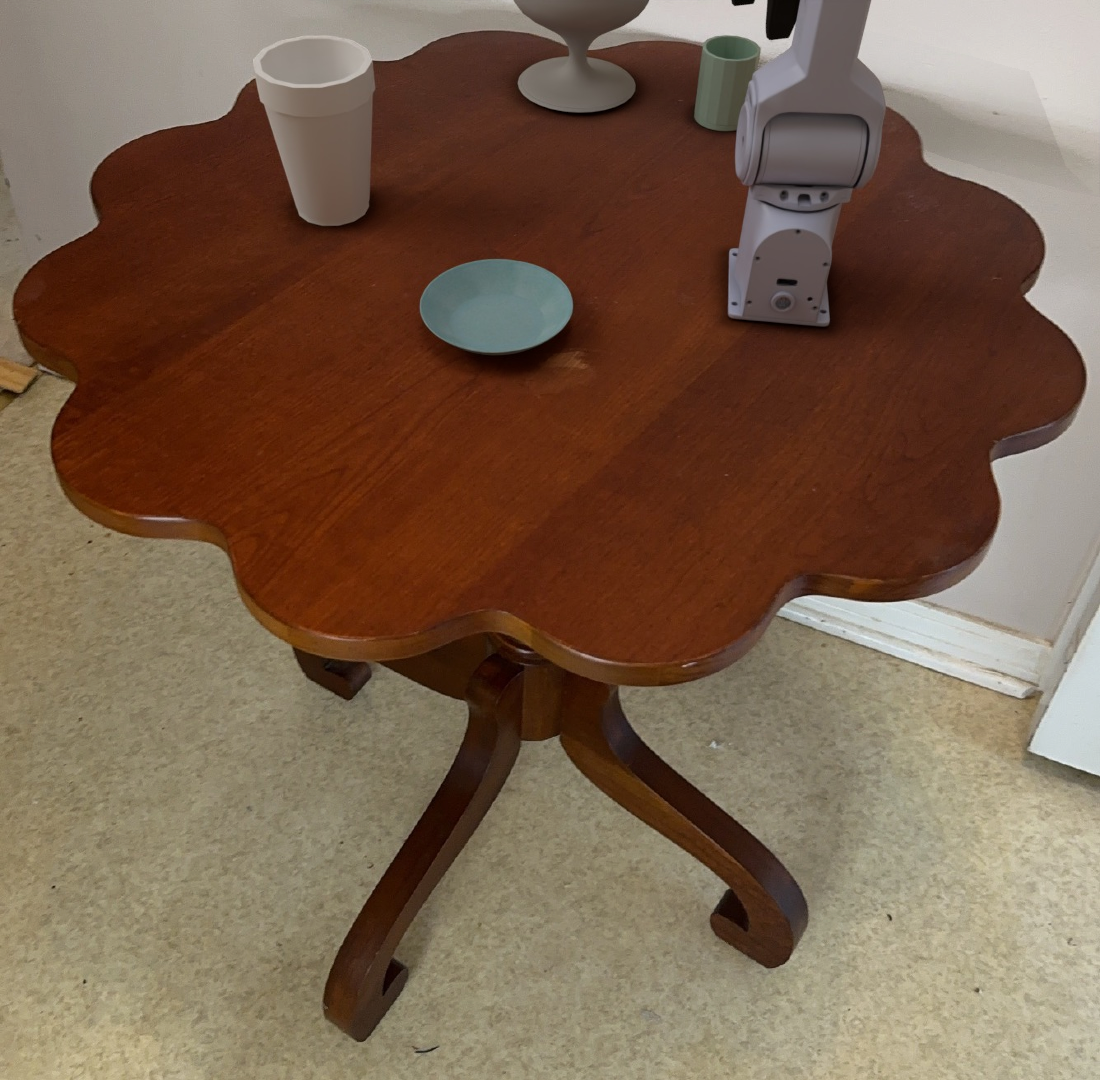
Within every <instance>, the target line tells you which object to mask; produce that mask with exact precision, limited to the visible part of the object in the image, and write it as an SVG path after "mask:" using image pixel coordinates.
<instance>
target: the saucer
mask: <svg viewBox="0 0 1100 1080" xmlns="http://www.w3.org/2000/svg"><path fill="white" fill-rule="evenodd" d="M573 310H574V301H573V295H572V293H571V291H570V289H569V287H568V286H567V285H566V283H564V281H563V280H562V279H561V278H560V277H559V276H557V275H555V274H554V273H553V272H551V271H549V270H547V269H546V268H544V267H541V266H539V265H536V264H533V263H529V262H526V261H520V260H514V259H507V258H491V259H487V258H486V259H479V260H474V261H470V262H465V263H462V264H459V265H456V266H454V267H452V268H450V269H448V270H445V271H444V272H442V273H440V274H439V275H438V276H436V277H435V278H434V279H433V280H432V281H430V283H429V284H428V285H427V286H426V287H425V289H424V290H423V293H422V294H421V297H420V300H419V313H420V316H421V319H422V321H423V323H424V325H425V326H426V328H428V329H429V331H430V332H431V333H432V334H434V335H435V336H436V337H438V338H439V339H440V340H442V341H443V342H446V343H447V344H449V345H451V346H452V347H455V348H458V349H460V350H463V351H465V352H468V353H473V354H477V355H478V354H479V355H483V356H484V355H485V356H506V355H514V354H518V353H523V352H526V351H529V350H531V349H534V348H536V347H539V346H541V345H542V344H544V343H546V342H548V341H550V340H551V339H553V338H554V337H555V336H557V335H558V334H559V333H561V331H563V329H564V328H565V327H566V325H567V324H568V323H569V321H570V319H571V317H572V315H573V313H574V311H573Z"/></svg>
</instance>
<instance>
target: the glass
mask: <svg viewBox="0 0 1100 1080" xmlns="http://www.w3.org/2000/svg"><path fill="white" fill-rule="evenodd" d="M760 59H761V46H760V45H759V44H758V43H757V42H755V41H754V40H752V39H749V38H746V37H743V36H739V35H730V34H725V35H716V36H713V37H709V38H707V39H705V41H704V42H702V47H701V55H700V63H699V70H698V78H697V86H696V94H695V103H694V111H693V112H694V113H693V118H694V120H695V122H696V123H697V124H699V126H701V127H703V128H706V129H710V130H712V131H716V132H717V131H718V132H733V131H737V126H738V120H739V115H740V111H741V108H742V106H743V104H744V102H745V98H746V94H747V89H748V84H749V82H750V81H751V80H752V76H753V73H754V72H755V71H756V70H758V69H759V63H760Z"/></svg>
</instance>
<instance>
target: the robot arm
mask: <svg viewBox="0 0 1100 1080" xmlns="http://www.w3.org/2000/svg"><path fill="white" fill-rule="evenodd" d="M730 2H731V4H732V5H733V7H739V6H749V5H754V4H755V2H756V0H730ZM871 3H872V0H766V12H765V13H766V14H765V37H766V38H767V39H768V40H769V41H775V40H776V41H777V40H785V39H789V38H790V36H791V34H792V33H793V36H792V41H791V46H790V47H789V48H788V49H786V50H785V51H783V52H782V53H780V54H779V55H777V56H776V57H774V58H773V59H771V60H770V61H767V62H766V63H765V64H764V65H762V66H761V67H758V70H756V71H755V72H754V73H753V76H752V80H751V81H750V82H749V84H748V89H747V94H746V98H745V102H744V104H743V106H742V108H741V111H740V115H739V120H738V126H737V130H736V135H735V137H736V138H735V146H734V147H735V148H734V167H735V168H734V169H735V174H736V177H737V179H739V181H740V182H741V184H742V185H743V186H745V187H747V186H748V192H747V197H746V203H745V209H744V214H743V219H742V220H743V221H742V226H741V232H740V238H739V243H738V247H737V248H736V247H735V248H734V247H733V248H730V249H729V252H728V286H727V287H728V288H727V291H728V292H727V316H728V317H729V318H731V319H732V320H733V319H734V320H746V321H756V322H767V323H779V324H787V325H790V324H791V325H800V326H811V327H822V328H825V327H828V326H829V325H830V322H831V321H830V320H831V318H830V305H829V293H828V278H829V274H830V269H831V266H832V261H833V260H832V259H833V249H832V246H833V242H834V239H835V234H836V231H837V226H838V222H839V218H840V215H841V209H842V206H843V203H844V204H845V203H850V202H851V198H852V195H853V194H852V193H853V191H854V190H861V189H863V188H864V187H865V186H866V185H867V183H868V182H869V181H871V179H872V178H873V176H874V174H875V172H876V170H877V166H878V162H879V158H880V152H881V146H882V139H883V138H882V136H883V126H884V125H883V124H884V121H885V120H884V119H885V115H886V111H887V103H886V97H885V93H884V89H883V85H882V83H881V80H880V79H879V78H878V76H877V75H876V74H875V73H874V72H873V71H872V70H871V69H870V68H869V67H868V66H867V65H866V64H865V63H864V62H863V61H862V60H861V59H859V58H858V57H859V54H860V50H861V49H860V48H861V45H862V40H863V37H864V33H865V29H866V24H867V20H868V16H869V12H870V7H871Z"/></svg>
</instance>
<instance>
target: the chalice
mask: <svg viewBox="0 0 1100 1080" xmlns="http://www.w3.org/2000/svg"><path fill="white" fill-rule="evenodd" d="M513 2H514V4H515V5H516V6H517V8H518V9H519V10H520V11H521V13H522V14H523V15H524V16H526V17H527V18H528V19H530V20H531V21H532V22H533V23H535V24H537V25H539V26H541V27H544V29H547V30H548V31H551V32H553V33H555V34H556V35H558V36H560V38H561V39H563V41H564V43H565V44H566V46H567V50H568V56H558V57H552V58H551V57H550V58H548V59H544V60H541V61H538V62H536V63H534V64H532V65H530V66H529V67H527V68H526V69H525V70H524V71H522V73H521V74H520V75H519V77H518V80H517V85H518V90H519V91H520V93H521V94H522V95H523V97H525V98H526V99H528V100H529V101H530V102H532V103H535V104H537V105H539V106H541V107H545V108H547V109H550V110H554V111H555V110H556V111H561V112H566V113H567V112H568V113H595V112H601V111H606V110H609V109H612V108H616V107H618V106H620V105H622V104H625V103H626V102H628V101H629V99H631V98H632V97H633V95H634V93H635V92H636V82H635V80H634V77H632V75H631V74H630V73H629V72H628V71H626V70H625V69H623V67H621V66H619V65H617V64H616V63H613V62H610V61H607V60H603V59H600V58H594V57H590V56H588V51H589V49H590V46H591V45H592V44H593V42H594V41H596V39H598V38H599V37H600V36H602V35H605V34H607V33H610V32H612V31H615V30H617V29H620V28H623V27H624V26H626V25H627V24H629V23H631V22H632V21H633V20H635V19H636V18H638V17H639V16H640V15H641V14H642V12H643V11H644V10H645V9H646V7H647V5H648V4H649V2H650V0H513Z"/></svg>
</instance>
